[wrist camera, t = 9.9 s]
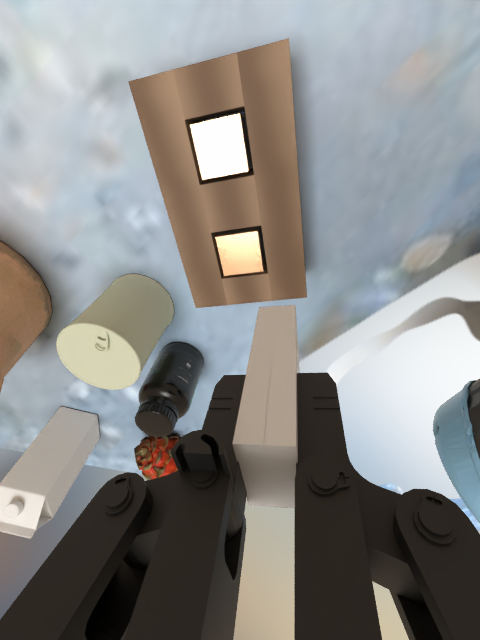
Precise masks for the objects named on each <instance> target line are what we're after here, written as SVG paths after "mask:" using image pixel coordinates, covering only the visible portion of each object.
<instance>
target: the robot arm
mask: <svg viewBox="0 0 480 640" xmlns="http://www.w3.org/2000/svg"><path fill="white" fill-rule="evenodd" d="M433 432H434V435H435V444H436V447H437V450H438V453H439V456H440V459H441V461H442V464H443V466H444V468H445V470H446V472H447V474H448V476H449V478H450V480H451V482H452V484H453V486H454V487H455V489H456V491H457V492H458V494H459V495H460V497H461V499H462V500H463V502H464V503H465V505H466V506H467V507H468V509H469V510H470V512H471V513H472V514H473V516H474V517H475V518H476V519H477V520H478V522H479V523H480V379H479V380H477V381H476V380H475V381H470V382H469V383H467V384H466V385H465V386H464V388H463V390H461V391H460V392H459V393H457V394H456V395H455V396H453V397H452V398H451V399H449V400H448V401H446V402H445V403H444V404H442V405H441V406H440V407H439V409H438V410H437V412H436V414H435V417H434V421H433ZM170 453H171V455H172V458H173V460H174V462H175V464H176V467H177V469H178V470H177V471H176V472H173V473H171V474H168V475H165V476H162V477H158V478H154V479H151V480H147V481H144V479H143V478H142V477H141V476H139V475H138V474H137V473H129V472H127V473H124V474H121V475H117V476H116V477H114V478H112V479H111V480H109V481H108V482H107V483H106V484H105V485H104V486H103V487H102V488H101V489H100V490H99V491H98V493H97V494H96V495H95V496H94V498H93V499H92V500H91V502H90V503H89V504H88V505H87V507H86V508H85V510H84V511H83V512H82V513H81V515H80V516H79V517H78V519H77V520H76V521H75V523H74V524H73V525H72V526H71V528H70V529H69V530H68V532H67V533H66V534H65V536H64V537H63V538H62V540H61V541H60V542H59V543H58V545H57V546H56V547H55V549H54V550H53V551H52V553H51V554H50V555H49V557H48V558H47V559H46V561H45V562H44V563H43V564H42V566H41V567H40V568H39V570H38V571H37V572H36V574H35V575H34V576H33V578H32V579H31V580H30V581H29V583H28V584H27V585H26V587H25V588H24V589H23V591H22V592H21V593H20V595H19V596H18V597H17V599H16V600H15V601H14V602H13V604H12V605H11V607H10V608H9V609H8V610H7V612H6V613H5V614H4V616H3V617H2V618H1V620H0V640H233V636H234V628H235V619H236V611H237V602H238V593H239V584H240V577H241V568H242V560H243V551H244V542H245V533H246V519H245V516H244V510H245V502H246V497H247V501H248V504H249V505H260V506H271V507H285V508H295V640H382V637H381V631H380V625H379V619H378V613H377V607H376V601H375V595H374V590H373V584H372V581H373V582H375V583H377V584H379V585H381V586H383V587H385V588H387V589H389V590H390V592H391V595H392V598H393V600H394V603H395V605H396V608H397V610H398V613H399V615H400V618H401V620H402V623H403V625H404V628H405V630H406V633H407V635H408V638H409V640H480V534H479V533H478V531H477V530H476V528H475V527H474V525H473V524H472V522H471V521H470V519H469V518H468V517H467V516H466V514H465V513H464V512H463V511H462V510H461V509H460V508H459V507H458V506H457V505H456V504H455V503H454V502H452V501H451V500H449V499H448V498H446V497H445V496H443V495H442V494H439V493H436V492H433V491H431V490H428V489H412V490H410V491H408V492H405V493H403V494H402V495H401V494H398V493H395V492H393V491H390V490H387V489H384V488H382V487H379V486H377V485H375V484H372V483H370V482H369V481H367V480H366V479H364V478H363V477H362V476H361V475H360V474H359V473H358V472H357V471H356V470H355V469H354V467H353V466H352V464H351V463H350V460H349V457H348V454H347V448H346V443H345V436H344V430H343V424H342V418H341V412H340V406H339V400H338V393H337V387H336V383H335V382H334V381H333V379H332V378H331V377H330V375H329V374H328V373H299V351H298V337H297V323H296V309H295V305H288V306H272V307H259V311H258V316H257V321H256V326H255V331H254V336H253V341H252V346H251V352H250V357H249V362H248V367H247V372H246V375H224V376H223V377H222V378H221V380H220V381H219V382H218V383H217V384H216V386H215V389H214V392H213V395H212V400H211V402H210V405H209V410H208V411H207V415H206V418H205V421H204V424H203V428H202V430H197V431H193V432H190V433H188V434H186V435H184V436H183V437H182V438H181V439H180V440H178V441H177V442H176V443H175V445H174V447H173V448H172V450H171V452H170Z"/></svg>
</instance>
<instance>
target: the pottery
mask: <svg viewBox="0 0 480 640" xmlns="http://www.w3.org/2000/svg"><path fill="white" fill-rule="evenodd" d="M51 315H52V307H51V301H50V295H49V293H48V291H47V289H46V287H45V285H44V283H43V281H42V280H41V278H40V276H39V275H38V274H37V272H36V271H35V270H34V269H33V268H32V267H31V266H30V264H29V263H28V262H27V261H26V260H25V259H24V258H23V257H22V256H20V255H19V254H18V253H16V252H15V251H13V250H12V249H11V248H9V247H8V246H7V245H5V244H4V243H3V242H1V241H0V392H1V388H2V384H3V380H4V377H5V376H6V375H7V373H8V372H9V371H10V370H11V368H12V367H13V366H14V365H15V364H16V362H17V361H18V360H19V359H20V358H21V356H22V355H23V354H24V353H25V352H26V350H27V349H28V348H29V347H30V346H31V344H32V343H33V342H34V341H35V339H36V338H37V337H38V336H39V335H40V333H41V332H42V331H43V330H44V329H45V327H47V326H48V324H49V321H50V318H51Z"/></svg>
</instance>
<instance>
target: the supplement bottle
mask: <svg viewBox="0 0 480 640" xmlns="http://www.w3.org/2000/svg"><path fill="white" fill-rule="evenodd" d="M202 369H203V359H202V357H201V355H200V353H199V352H198V351H197V350H196V349H195V348H193V347H192V346H190V345H187V344H184V343H172V344H169V345H167V346H165V347H164V348H163V349H162V350H161V352H160V353H159V355H158V357H157V359H156V361H155V363H154V364H153V366H152V368H151V370H150V372H149V374H148V375H147V377H146V379H145V381H144V383H143V385H142V387H141V389H140V391H139V402H140V407H139V409H138V412H137V414H136V417H135V422H136V425H137V426H138V427H139V429H141V430H142V431H144V432H145V433H147V434H149V435H152V436H158V437H160V436H161V437H163V436H166V435H169V434H171V432H172V431H173V429H174V427H175V424H176V423H177V420H178V419H179V418H181V417H182V416H184V415H185V414H186V413H187V412H188V410H189V408H190V405H191V402H192V399H193V396H194V393H195V390H196V387H197V384H198V381H199V378H200V375H201V372H202Z"/></svg>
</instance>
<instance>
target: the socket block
mask: <svg viewBox="0 0 480 640" xmlns="http://www.w3.org/2000/svg"><path fill="white" fill-rule="evenodd" d="M129 85H130V89H131V92H132V95H133V99H134V102H135V105H136V109H137V112H138V115H139V119H140V122H141V125H142V129H143V132H144V135H145V139H146V142H147V145H148V149H149V152H150V156H151V159H152V162H153V166H154V169H155V172H156V176H157V179H158V182H159V186H160V189H161V192H162V196H163V199H164V202H165V206H166V209H167V212H168V216H169V219H170V222H171V226H172V229H173V233H174V236H175V239H176V243H177V246H178V249H179V253H180V256H181V259H182V263H183V266H184V269H185V273H186V276H187V279H188V283H189V286H190V289H191V293H192V296H193V299H194V303H195V306H196V308H201V307H211V306H221V305H232V304H242V303H252V302H263V301H273V300H284V299H294V298H304V297H307V291H306V277H305V263H304V248H303V234H302V220H301V206H300V192H299V177H298V163H297V149H296V135H295V121H294V106H293V92H292V78H291V64H290V49H289V39H285V40H281V41H278V42H274V43H270V44H266V45H263V46H259V47H255V48H252V49H248V50H244V51H240V52H237V53H233V54H229V55H226V56H222V57H218V58H214V59H211V60H207V61H203V62H200V63H196V64H192V65H188V66H185V67H181V68H177V69H174V70H170V71H166V72H162V73H159V74H155V75H151V76H148V77H144V78H140V79H136V80H133V81H129ZM241 111H245V114H246V121H247V128H248V135H249V142H250V150H251V157H252V164H253V168H250V170H249V171H247V172H242V173H237V174H231V175H226V176H220V177H215V178H210V179H204V180H202V176H201V172H200V167H199V163H198V159H197V154H196V150H195V145H194V141H193V136H192V132H191V128H190V125H191V124H196V123H200V122H202V120H206V119H210V118H214V117H219V116H223V115H227V114H232V113H236V112H241ZM260 225H261V227H262V234H263V241H264V248H265V256H266V257H265V263H264V270H263V271H262V272H253V273H245V274H236V275H228V276H224V273H223V269H222V264H221V260H220V256H219V251H218V247H217V242H216V238H215V237H216V235H217V234H218V232H220V231H227V230H233V229H240V228H247V227H254V226H260Z"/></svg>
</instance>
